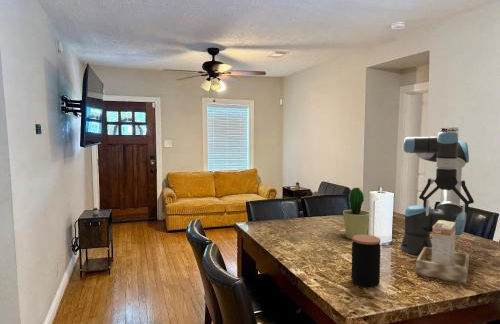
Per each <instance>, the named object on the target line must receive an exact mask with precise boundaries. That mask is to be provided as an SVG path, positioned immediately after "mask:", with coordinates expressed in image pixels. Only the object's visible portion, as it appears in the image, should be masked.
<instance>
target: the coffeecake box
mask: <svg viewBox="0 0 500 324" xmlns="http://www.w3.org/2000/svg"><path fill="white" fill-rule="evenodd" d="M455 225H456V222H449V221H444V220H438V221H437V223H436V224H435V225H434V226H433V227H432V232H431V233H432V237H431V239H432V241H431V243H432V262H433V263H438V264H444V265H449V266H454V257H455V252H456V235H455Z"/></svg>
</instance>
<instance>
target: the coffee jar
mask: <svg viewBox="0 0 500 324" xmlns="http://www.w3.org/2000/svg"><path fill="white" fill-rule="evenodd" d="M351 240H352V243H351V277H350V278H351V280H352V282H353V284H355V285H357V286H358V287H361V288H366V289H367V288H369V289H370V288H372V289H373V288H376V287H377V286H379V284H380V283H381V282H380V281H381V278H380V277H381V244H380V243H381V238H379V237H377V236H375V235H371V234H370V235H369V234H367V235H355V236H353V237H352V239H351Z"/></svg>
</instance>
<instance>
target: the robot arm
mask: <svg viewBox="0 0 500 324" xmlns="http://www.w3.org/2000/svg"><path fill="white" fill-rule="evenodd" d="M403 151H404V152H405V153H408V154H409V153H410V154H415V155H416V156H417V157H418V158H420V159H421V160H425V161H427V162H432V163H436V167H437V168H436V171H435V172H436V173H435V177H436V178H434V179H433V178H428V179H427V183H426V185H425V187H424V188H423V190H422V191H421V194H419V196H418V198H419V199H420V200H422V201H423V204H415V205H409V206H407V207H406V208H405V211H404V234H403V237H402V240H401V242H400V251H402V252H404V253H408V254H412V255H417V256H419V255H420V253H421V251H422V250H423V248H424V247H429V248H432V241H431V239H432V238H431V237H430V236H431V233H432V227H433V226H434V225H435V224H436V223H437V221H438V220H444V221H449V222H456V225H455V236H457V237H458V236H462V235H463V234H464V231H465V228H466V227H465V226H466V223H467V213H468V212H469V205H470V204H474V203H475V200H474V198H473V197H472V195H471V193H470V191H469V190H468V187H467V186H466V180H464V179H463V180H462V176H463V175H462V171H463V168H464V167H465V166H466V164H468V163H469V162H470V155H469V146H468V143H467V142H466V141H462V140H461V141H459V134H458V132H456V131H447V132H446V131H441V132H438V133H437V136H407V137H405V138H404V141H403ZM434 183H435V185H436V186H434V187H435V188H433V189H432V190H431V191H430V192H429V193H428V194H426V193H427V192H428V189H429V188H430V187H431V185H432V184H434ZM462 189H463V191H464V194H465V195H466V197H465V196H464V195H463V194H462V192H461V191H462ZM438 190H440V201H439V203H438V204H437V206H436V208H432V206H430V200H429V198H431V197H432V196H433V194H435V193H436V192H438ZM425 194H426V195H425ZM461 201H462V202H463V203H462V206H461Z"/></svg>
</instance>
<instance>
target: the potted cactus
mask: <svg viewBox="0 0 500 324" xmlns="http://www.w3.org/2000/svg"><path fill="white" fill-rule="evenodd" d="M348 200H349V201H348V204H350V205H349V207H350V209H346V210H343V211H342V214H343V222H344V229H345V237H346V238H347V239H350V240H352V237H353V236H355V235H368V231H369V224H370V219H369V212H370V211H367V210H362V209H363V203H364V201H365V197H364V192H363V189H361V188H360V187H353V188H352V189H351V190H349V198H348Z"/></svg>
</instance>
